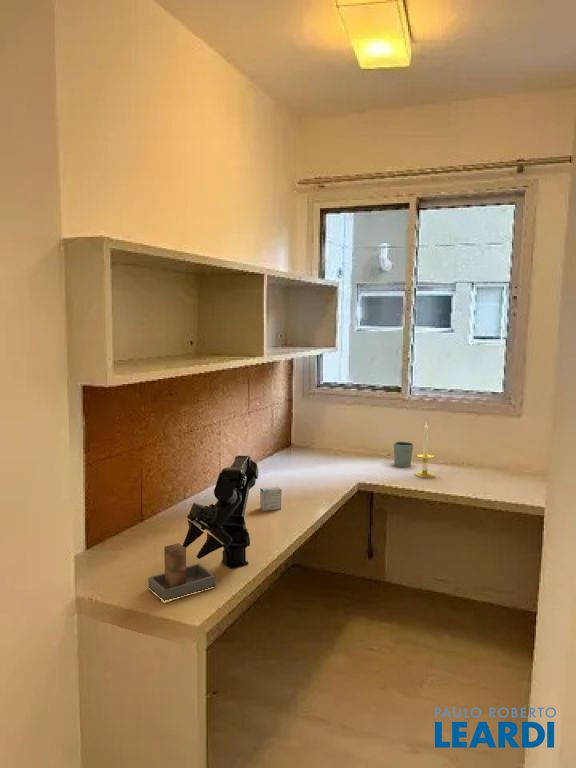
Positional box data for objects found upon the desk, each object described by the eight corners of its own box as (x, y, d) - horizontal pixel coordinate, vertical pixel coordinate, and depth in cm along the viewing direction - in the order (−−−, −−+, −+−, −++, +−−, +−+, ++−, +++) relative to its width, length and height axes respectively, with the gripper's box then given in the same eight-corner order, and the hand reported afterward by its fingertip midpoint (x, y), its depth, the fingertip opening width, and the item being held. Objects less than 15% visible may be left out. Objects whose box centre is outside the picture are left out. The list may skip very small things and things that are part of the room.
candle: (412, 472, 289) (414, 420, 286) (432, 472, 289) (434, 420, 285) (417, 477, 279) (418, 423, 276) (437, 477, 279) (439, 423, 276)
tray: (198, 574, 172) (198, 563, 171) (215, 587, 163) (215, 576, 163) (148, 589, 162) (148, 577, 162) (163, 603, 154) (163, 591, 154)
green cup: (389, 464, 304) (389, 442, 302) (404, 462, 309) (404, 440, 307) (401, 468, 295) (402, 446, 294) (416, 466, 300) (417, 444, 298)
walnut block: (179, 582, 165) (178, 543, 163) (186, 588, 161) (185, 548, 160) (165, 586, 162) (164, 546, 161) (171, 592, 158) (171, 551, 157)
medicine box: (277, 506, 235) (278, 485, 234) (281, 509, 231) (281, 488, 230) (259, 508, 232) (259, 487, 231) (263, 511, 228) (263, 490, 227)
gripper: (192, 485, 172) (158, 527, 167) (222, 501, 157) (186, 548, 152) (215, 505, 178) (183, 547, 173) (246, 523, 163) (212, 569, 158)
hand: (190, 552), depth 164 cm, fingers open, 9 cm apart
